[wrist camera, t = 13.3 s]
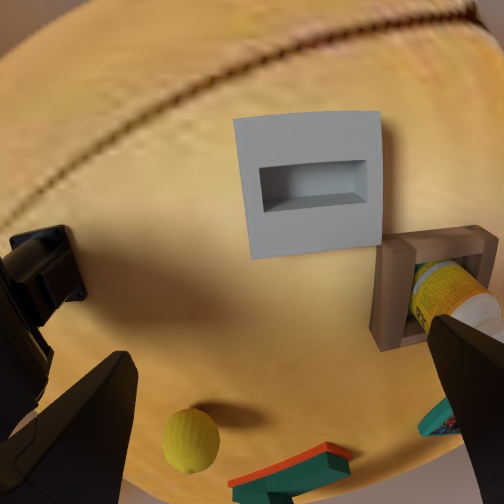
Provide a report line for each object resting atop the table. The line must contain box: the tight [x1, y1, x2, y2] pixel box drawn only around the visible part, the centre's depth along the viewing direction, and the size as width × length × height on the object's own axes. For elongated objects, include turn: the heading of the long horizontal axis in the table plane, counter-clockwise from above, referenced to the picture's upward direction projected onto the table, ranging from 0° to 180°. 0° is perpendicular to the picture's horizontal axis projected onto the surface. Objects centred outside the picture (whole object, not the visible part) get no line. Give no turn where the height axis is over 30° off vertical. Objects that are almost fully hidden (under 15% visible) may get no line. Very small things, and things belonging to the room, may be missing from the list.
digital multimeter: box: [418, 397, 461, 437], centre depth 32 cm, size 7×15×3 cm, turn 68°
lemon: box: [162, 408, 220, 475], centre depth 25 cm, size 6×6×8 cm
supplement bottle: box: [409, 258, 504, 343], centre depth 17 cm, size 5×5×10 cm
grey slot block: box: [233, 111, 383, 260], centre depth 18 cm, size 8×8×3 cm
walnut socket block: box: [369, 225, 499, 352], centre depth 21 cm, size 10×8×3 cm
